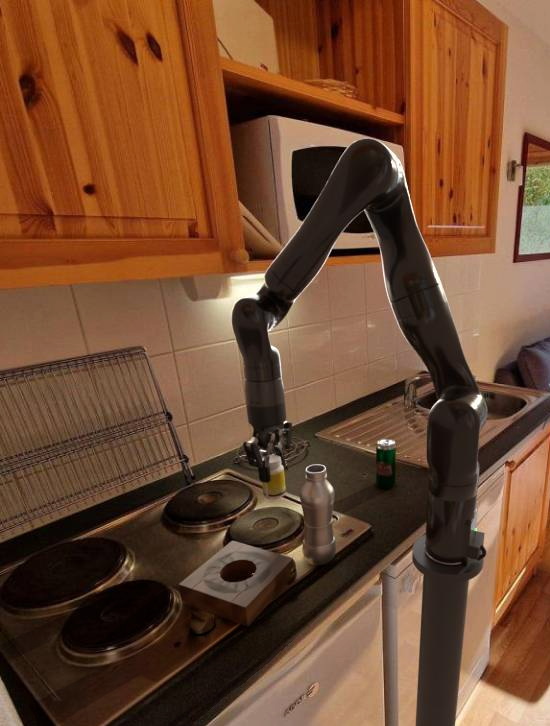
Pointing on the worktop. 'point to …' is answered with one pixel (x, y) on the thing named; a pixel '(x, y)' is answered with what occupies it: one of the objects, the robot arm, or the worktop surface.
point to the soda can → (386, 463)
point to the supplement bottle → (275, 479)
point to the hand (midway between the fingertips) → (273, 475)
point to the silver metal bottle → (317, 516)
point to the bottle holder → (237, 598)
